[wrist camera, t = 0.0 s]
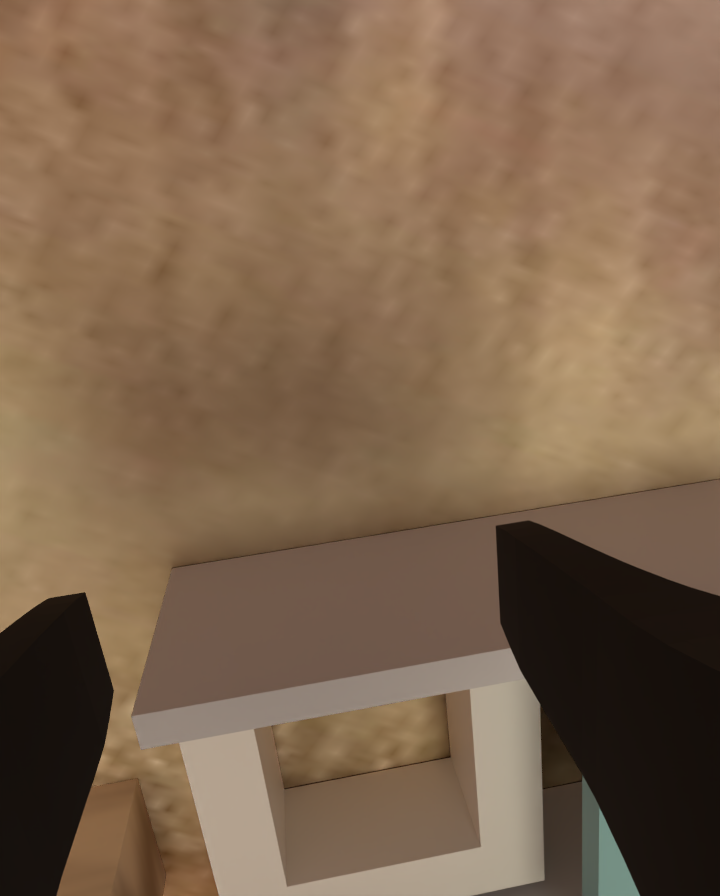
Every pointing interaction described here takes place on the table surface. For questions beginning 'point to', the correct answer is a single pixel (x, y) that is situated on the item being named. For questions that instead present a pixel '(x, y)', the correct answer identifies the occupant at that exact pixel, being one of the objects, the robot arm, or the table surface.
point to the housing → (387, 702)
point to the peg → (114, 846)
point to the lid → (601, 854)
